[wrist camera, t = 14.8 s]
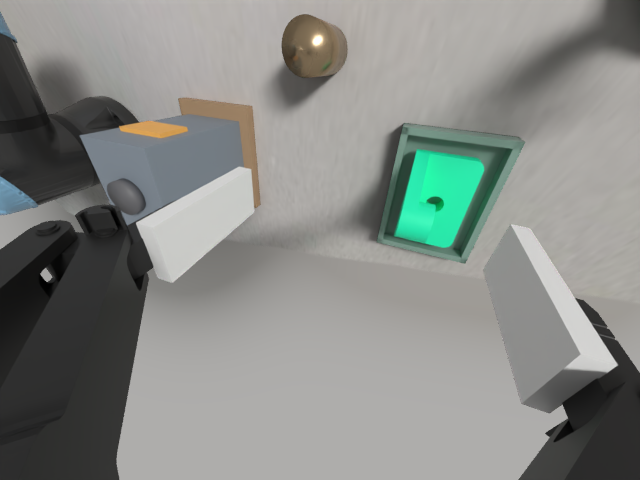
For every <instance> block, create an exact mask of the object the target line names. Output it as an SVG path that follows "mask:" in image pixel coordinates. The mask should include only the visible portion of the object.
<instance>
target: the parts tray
mask: <svg viewBox="0 0 640 480" xmlns="http://www.w3.org/2000/svg"><path fill="white" fill-rule="evenodd" d="M524 144H525V142H524V141H523V140H522V139H521V138H519V137H513V136H505V135H497V134H489V133H481V132H473V131H465V130H457V129H449V128H441V127H433V126H425V125H417V124H409V123H404V125H403V128H402V132H401V136H400V141H399V145H398V150H397V154H396V159H395V163H394V167H393V172H392V176H391V181H390V185H389V190H388V194H387V198H386V203H385V207H384V212H383V216H382V221H381V225H380V229H379V234H378V238H377V242H378V243H382V244H387V245H391V246H395V247H399V248H403V249H407V250H411V251H415V252H419V253H424V254H428V255H432V256H436V257H440V258H444V259H448V260H452V261H456V262H461V263H466V261H467V259H468V257H469V255H470V253H471V251H472V249H473V247H474V245H475V243H476V241H477V239H478V237H479V234H480V232H481V230H482V228H483V226H484V224H485V222H486V220H487V218H488V216H489V214H490V212H491V210H492V208H493V206H494V204H495V202H496V200H497V198H498V196H499V194H500V192H501V190H502V188H503V186H504V184H505V182H506V180H507V178H508V176H509V174H510V172H511V170H512V168H513V166H514V164H515V162H516V160H517V158H518V156H519V154H520V152H521V150H522V148H523V146H524ZM417 149H421V150H428V151H434V152H441V153H448V154H455V155H461V156H468V157H475V158H478V159H480V160H481V162H482V164H483V166H484V172H483V175H482V177H481V179H480V182H479V184H478V186H477V188H476V191H475V193H474V195H473V198H472V200H471V202H470V204H469V207H468V209H467V211H466V214H465V216H464V218H463V220H462V223H461V225H460V227H459V230H458V232H457V234H456V236H455V239H454V241H453V243H452V245H451V246H449V247H446V248H442V247H438V246H434V245H429V244H425V243H421V242H417V241H412V240H408V239H404V238H400V237H395V236H394V233H395V229H396V225H397V221H398V218H399V214H400V210H401V206H402V202H403V198H404V195H405V191H406V187H407V184H408V180H409V176H410V173H411V169H412V166H413V162H414V158H415V155H416V151H417ZM441 200H442V199H441V198H440V197H436V196H434V197H430V198H429V199H428V200H427V201H428V202H429V203H431V204H436V203H439V202H440V201H441Z"/></svg>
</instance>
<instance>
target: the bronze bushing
mask: <svg viewBox="0 0 640 480" xmlns="http://www.w3.org/2000/svg"><path fill="white" fill-rule="evenodd" d="M282 53H283V57H284V60H285V63H286V65H287V66H288V68H289V69H290V70H291V71H292V72H293V73H294V74H295V75H297V76H299V77H303V78H310V77H321V76H330V75H333V74H335V73H337V72H338V71H339V70H340V69H341V68H342V66H343V65H344V63H345V60H346V57H347V41H346V38H345V36H344V34H343V32H342V31H341V30H340V29H339V28H338V27H337V26H335V25H332V24H330V23H328V22H325V21H323V20H321V19H318V18H316V17H314V16H311V15H306V14H303V15H299V16H296V17H295V18H293V19H292V20H291V21H290V22H289V23H288V25H287V27H286V29H285V31H284V34H283V38H282Z"/></svg>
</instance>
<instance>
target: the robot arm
mask: <svg viewBox="0 0 640 480" xmlns="http://www.w3.org/2000/svg"><path fill="white" fill-rule="evenodd" d="M16 43H17V40H16V38H15V37H14V36H13V35H12V34H11V32H10V30H9V28H8V26H7V24H6V22H5V20H4V18H3V16H2V14H1V12H0V215H7V214H11V213H15V212H19V211H22V210H26V209H29V208H35V207H38V205H41V204H43V203H46V202H49V201H52V200H55V199H57V198H60V197H63V196H66V195H69V194H71V193H74V192H77V191H80V190H83V189H85V188H88V187H91V186H94V185H96V184H99V183H101V182H100V179H99V177H98V175H97V173H96V171H95V168H94V166H93V164H92V162H91V160H90V157H89V155H88V153H87V151H86V149H85V146H84V144H83V142H82V140H81V138H80V135H85V134H90V133H95V132H100V131H105V130H110V129H115V128H119V126H124V125H129V124H134V123H139V122H138V121H137V119H136V118H135V117H134V116H133V115H132V114H131V113H130V112H129V111H128V110H127V109H126V108H125V107H124V106H123V105H121V104H120V103H119V102H117V101H115V100H113V99H111V98H109V97H104V96H99V97H89V98H85V99H82V100H80V101H79V102H77V103H75V104H73V105H71V106H69V107H67V108H65V109H63V110H62V111H60V112H58V113H55V114H48V115H47V112H46V110H45V107H44V105H43V103H42V101H41V98H40V96H39V94H38V92H37V90H36V87H35V85H34V83H33V81H32V78H31V76H30V74H29V72H28V69H27V67H26V65H25V63H24V60H23V58H22V56H21V54H20V51H19V49H18V47H17V45H16ZM253 213H254V200H253V187H252V174H251V169H248V168H244V167H237V168H236V169H234V170H232V171H230V172H228V173H226V174H224V175H223V176H221V177H219V178H217V179H215V180H213V181H212V182H210V183H208V184H206V185H204V186H202V187H201V188H199V189H197V190H195V191H193V192H191V193H190V194H188V195H186V196H184V197H182V198H180V199H179V200H176V201H173V202H170V203H168V204H166V205H164V206H163V207H162V208H159V209H157V210H155V211H154V212H151V213H150V214H148V215H146V216H144V217H142V218H140V219H138V220H137V221H135V222H133V223H131V224H129V225H127V224H126V222H125V220H124V217H123V215H122V212H121V210H120V208H119V207H117V206H115V205H98V206H93V207H89V208H86V209H84V210H82V211H80V212H78V213H77V214H76V215H75V217H76V218H77V220H78V222H79V224H80V226H81V228H82V229H83V231H84V233H79V232H78V233H77V232H75V230H74V228H73V226H72V225H71V223H70V222H67V221H61V220H59V221H48V222H43V223H41V224H39V225H37V226H34V227H32V228H30V229H28V230H27V231H25V232H24V233H23V234H21V235H20V236H18V237H17V238H16V239H14V240H13V241H12V242H10V243H9V244H7V245H6V246H5V247H3V248H2V249H0V480H119V475H118V470H117V465H116V458H117V449H118V444H119V439H120V434H121V427H122V423H123V417H124V412H125V406H126V401H127V395H128V390H129V385H130V379H131V373H132V368H133V363H134V357H135V351H136V346H137V341H138V335H139V329H140V324H141V318H142V313H143V307H144V302H145V297H146V291H147V286H148V281H149V278H148V274H147V272H148V271H149V270H150V269H152V268H154V270H155V273H156V275H157V278H159V279H163V280H165V281H168V282H171V283H173V282H174V281H175V280H176V279H177V278H179V277H180V276H181V275H182V274H183V273H184V272H185V271H187V270H188V269H189V268H190V267H191V266H193V265H194V264H195V263H196V262H197V261H198V260H200V259H201V258H202V257H203V256H204V255H205V254H206V253H208V252H209V251H210V250H211V249H212V248H213V247H215V246H216V245H217V244H218V243H219V242H220V241H222V240H223V239H224V238H225V237H226V236H227V235H229V234H230V233H231V232H232V231H233V230H234V229H236V228H237V227H238V226H239V225H240V224H241V223H243V222H244V221H245V220H246V219H247V218H248V217H249V216H251V215H252V214H253ZM45 268H47V270H48V271H49V272H50V274H51V275H52V277H53V278H52V279H51V280H50V281H48V282H46V281H45V280H44V279H43V277H42V276H41V275H40V273H41V272H42V270H43V269H45ZM483 271H484V274H485V278H486V281H487V285H488V288H489V291H490V295H491V299H492V303H493V306H494V309H495V313H496V317H497V320H498V324H499V327H500V331H501V334H502V337H503V341H504V344H505V348H506V352H507V355H508V359H509V362H510V366H511V369H512V373H513V376H514V380H515V383H516V387H517V390H518V394H519V397H520V401H521V403H522V404H524V405H527V406H529V407H532V408H535V409H539V410H541V411H544V412H547V413H551V412H552V411H554V410H555V409H556V408H558V407H559V406H561V405H562V404H563V407H564V409H565V411H566V414H567V416H568V419H567V420H565V421H564V422H562V423H560V424H559V425H557V426H555V427H554V428H552V429H551V430H549V431H548V432H546V433H545V434H546V435H548V436H549V437H550V436H551V437H550V438H549V440H548V441H547V442H546V443H545V445H544V446H543V447H542V449H541V450H540V452H539V453H538V454H537V456H536V457H535V458H534V460H533V461H532V462H531V464H530V465H529V466H528V468H527V469H526V470H525V472H524V473H523V474H522V476H521V477H520V478H519V480H640V373H639V371H638V370H637V368H636V367H635V365H634V364H633V363H632V361H631V360H630V358H629V357H628V355H627V354H626V353H625V351H624V350H623V348H622V347H621V345H620V344H619V342H618V341H616V340H615V337H614V335H613V334H612V332H611V331H610V330H609V329H607V325H606V324H605V322H604V321H603V320H602V318H601V317H600V316H599V314H598V313H597V312H596V311H595V310H594V309H593V308H591V307H590V306H589V305H588V304H587V303H586V302H585V301H584V300H580V299H576V298H574V296H573V295H572V293H571V291H570V290H569V288H568V287H567V285H566V284H565V282H564V281H563V279H562V277H561V276H560V274H559V273H558V271H557V270H556V268H555V267H554V265H553V263H552V262H551V260H550V259H549V257H548V256H547V254H546V253H545V251H544V249H543V248H542V246H541V245H540V243H539V242H538V240H537V239H536V237H535V236H534V234H533V232H532V231H531V229H530V228H527V227H522V226H517V225H512V224H510V226H509V228H508V229H507V231H506V233H505V234H504V236H503V238H502V239H501V241H500V243H499V244H498V246H497V248H496V249H495V251H494V253H493V254H492V256H491V258H490V259H489V261H488V263H487V264H486V266H485V268H484V269H483Z"/></svg>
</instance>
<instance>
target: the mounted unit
mask: <svg viewBox="0 0 640 480" xmlns="http://www.w3.org/2000/svg"><path fill="white" fill-rule="evenodd" d="M178 100H179V104H180V109H181V113H182V116H177V117H172V118H167V119H161V120H156V121H145V122H140V123H134V124H129V125H124V126H119V128H115V129H110V130H105V131H100V132H95V133H90V134H85V135H80V138H81V140H82V142H83V144H84V146H85V149H86V151H87V153H88V155H89V157H90V160H91V162H92V164H93V166H94V168H95V171H96V173H97V175H98V177H99V179H100V182H101V184H102V186H103V188H104V190H105V193H106V195H107V197H108V199H109V201H110V204H111V205H115V206H117V207H119V208H120V210H121V212H122V215H123V217H124V220H125V222H126V224H127V225H129V224H131V223H133V222H135V221H137V220H138V219H140V218H142V217H144V216H146V215H148V214H150V213H151V212H154V211H155V210H157V209H159V208H162V207H163V206H164V205H166V204H168V203H170V202H173V201H176V200H179V199H180V198H182V197H184V196H186V195H188V194H190V193H191V192H193V191H195V190H197V189H199V188H201V187H202V186H204V185H206V184H208V183H210V182H212V181H213V180H215V179H217V178H219V177H221V176H223V175H224V174H226V173H228V172H230V171H232V170H234V169H236V168H237V167H244V168H248V169H251V174H252V187H253V200H254V208H257V207H258V206H259V205H260V193H259V181H258V170H257V158H256V146H255V134H254V122H253V110H252V106H247V105H239V104H232V103H224V102H216V101H208V100H200V99H192V98H178Z"/></svg>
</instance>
